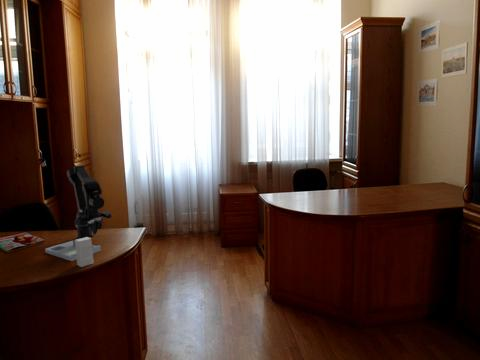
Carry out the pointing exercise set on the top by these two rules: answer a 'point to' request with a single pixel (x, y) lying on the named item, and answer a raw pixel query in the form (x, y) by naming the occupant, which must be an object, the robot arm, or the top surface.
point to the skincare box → (84, 251)
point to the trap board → (67, 250)
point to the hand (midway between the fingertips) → (94, 234)
